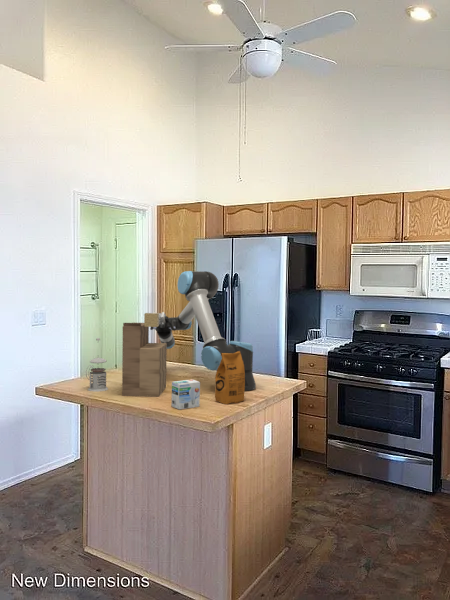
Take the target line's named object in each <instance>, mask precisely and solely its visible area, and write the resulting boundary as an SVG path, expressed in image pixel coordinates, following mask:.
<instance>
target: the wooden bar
mask: <svg viewBox="0 0 450 600" xmlns="http://www.w3.org/2000/svg"><path fill="white" fill-rule="evenodd" d="M164 314H165V315H166V312H164ZM143 315H144V317H143V318H144V321H143V323H144V327H149V328H151V327H158V326H159V324H161V323H163V322H164V321H163V319H162V312H155V313H153V312H145V313H144V314H143Z"/></svg>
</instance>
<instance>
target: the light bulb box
mask: <svg viewBox="0 0 450 600" xmlns="http://www.w3.org/2000/svg"><path fill="white" fill-rule="evenodd" d="M200 395H201V382H200V381H198V380H195V379H192V378H191V379H184V380H177V381H171V408H174V409H177V410H185V409H192V408H193V409H194V408H198V407H200V403H201V402H200V400H201V398H200V397H201V396H200Z"/></svg>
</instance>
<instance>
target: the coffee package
mask: <svg viewBox="0 0 450 600" xmlns="http://www.w3.org/2000/svg"><path fill="white" fill-rule="evenodd" d="M221 356H222V359H221V362H220V365H219V367H218V369H217V370H216V373H215V377H214V379H215V380H214V381H215V384H214V386H215V388H214V398H215V401H216V402H218V403H219V404H223V405H229V404H238V403H241V402H244V401H245V391H244V390H245V370H244V364H243V360H242V356H241V353H240V351H238V352H236V353H233V354H232V353H221Z"/></svg>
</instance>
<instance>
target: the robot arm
mask: <svg viewBox="0 0 450 600" xmlns="http://www.w3.org/2000/svg"><path fill="white" fill-rule="evenodd" d="M219 284H220V283H219V279H218V277H217V276H216V275H215V274H214V273H213V272H210V271H199V270H198V271H195V270H194V271H193V270H188V271H187V270H186V271H183V272H181V274H180V275H179V276H178V279H177V290H178V293H180V294H181V295H184V297H185V299H186V300H187V304H186V306H185V307H184V308H183V309H182V310H181V312H180V314H179V315H178V316H174V317H173V316H172V317H169V316H167V315H166V313H165V311H162V312H161V313H162V319H163V321H164V322H163V323H161V324H159V326H158V327H149V329H150V331H153V330H155V331H156V333H157V335H158V338H159V341H160V343H167V350H169V349H172V348H173V347H174V346H175V344H176V341H175V336H174V335H173V331H174V332H175V331H186V330H190V329H191V327H192V324H193V321H192V320H193V319H194V318H195V320H196V321H197V325H198V328H199V331H200V334H201V336H202V339H203V342H204V343H203V345H202V350H201V353H200V355H201V356H200V358H201V361H202V364H203V367H205V368H206V369H207V370H210V371H217V369H218V367H219V365H220V362H221V359H222V356H221V353H232V354H233V353H236V352H238V351H240V353H241V356H242V360H243V364H244V370H245V390H244V392H248V391H253V390H256V388H257V385H256V381H255V377H254V374H253V373H254V372H253V366H254V365H253V362H254V361H253V358H254V346H253V344H252V343H250V342H244V341H236V340H230V341H229V343H227V341H226V339H225V338H224V337H222V336H221V333H220V329H219V327H218V324H217V321H216V319H215V317H214V313H213V311H212V308H211V305H210V302H209V300H210V299H213V298H214V296H215V295H216V294H217V292H218V291H219ZM152 313H156V312H155V311H152ZM164 313H165V314H164Z"/></svg>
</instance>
